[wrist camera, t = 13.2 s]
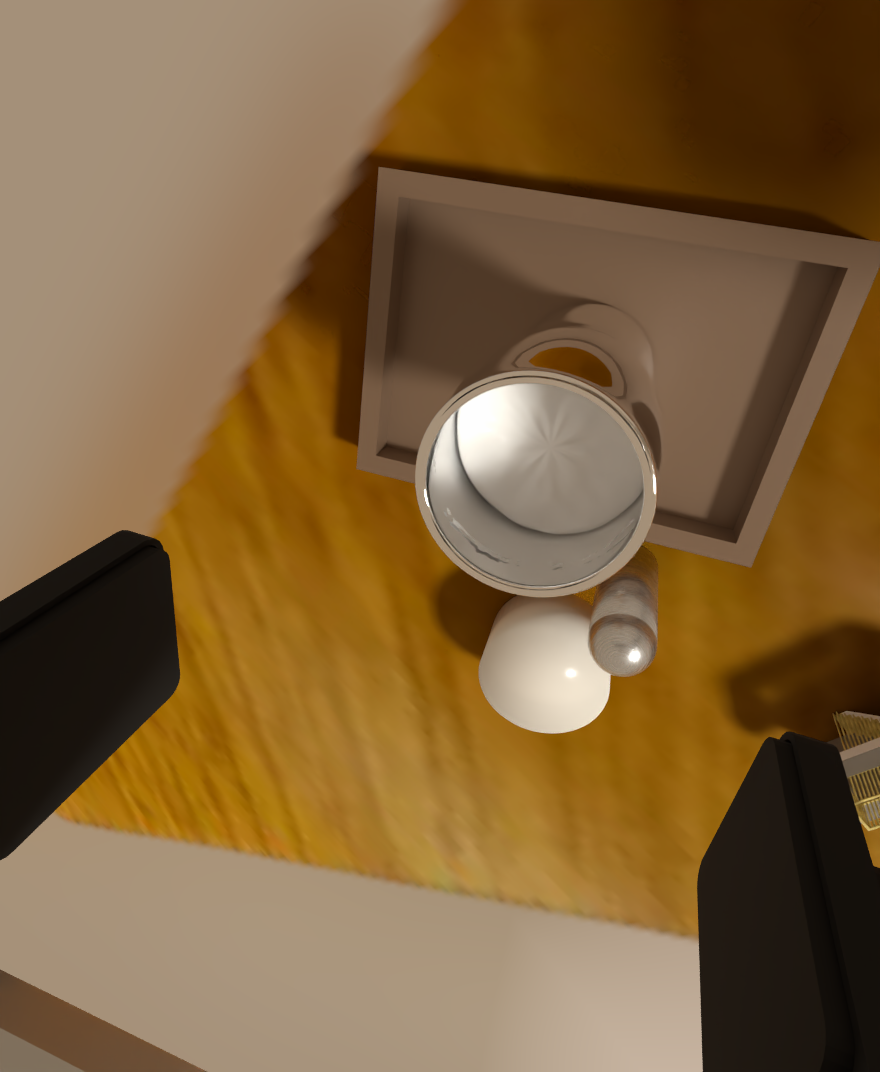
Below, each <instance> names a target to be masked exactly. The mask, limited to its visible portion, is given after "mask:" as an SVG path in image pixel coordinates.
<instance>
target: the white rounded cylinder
mask: <svg viewBox="0 0 880 1072" xmlns="http://www.w3.org/2000/svg"><path fill="white" fill-rule="evenodd" d="M592 609H593V606H591V605H590V604H589V603H588V602H586V601H585V600H583V599H582V598H580V597H578V596H576V595H574V594H569V595H564V596H557V597H529V596H522V595H517V596H515V597H513V598H512V599H510V600H509V601H508V602H506V603H505V604H504V605H503V606H502V608H501V609H500V610H499V612H498V614H497V616H496V617H495V620H494V623H493V626H492V629H491V632H490V635H489V638H488V641H487V644H486V646H485V649H484V652H483V655H482V658H481V661H480V666H479V680H480V685H481V688H482V691H483V693H484V695H485V697H486V699H487V700H488V702H489V703H490V704H491V706H492V707H493V708H494V709H495V710H496V711H497V712H498V713H499V714H500V715H502V716H503V717H504V718H505V719H507V720H509V721H510V722H512V723H514V724H516V725H518V726H520V727H522V728H525V729H528V730H532V731H535V732H542V733H563V732H569V731H573V730H576V729H579V728H581V727H583V726H585V725H587V724H589V723H590V722H591V721H593V720H594V719H595V718H596V717H597V716H598V715H599V714H600V713H601V711H602V710H603V709H604V707H605V705H606V703H607V700H608V697H609V690H610V674H609V673H607V672H605V671H603V670H602V669H601V668H599V667H598V666H597V665H596V663H595V662H594V661H593V659H592V657H591V655H590V653H589V650H588V644H587V640H588V632H589V626H590V620H591V615H592Z"/></svg>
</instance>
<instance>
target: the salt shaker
mask: <svg viewBox="0 0 880 1072" xmlns="http://www.w3.org/2000/svg"><path fill="white" fill-rule="evenodd" d="M657 618H658V564H657V561H656V558H655V557H654V555H653V554H652V553H651V552H650V551H649V550H648V549H646V548H645V547H643V546H641V547H640V548H639V550H638V551H637V553H636V554H635V555H634V556H633V558H632V559H631V560H630V561H629V562H628V563H627V564H626V565H625V566H624V567H623V568H622V569H621V570H619V571H618V572H617V573H616V574H614V575H613V576H611V577H610V578H609V579H607V580H605V581H604V582H602V583H600V584H598V585H597V586H596V592H595V597H594V603H593V609H592V615H591V620H590V626H589V632H588V640H587V644H588V650H589V653H590V655H591V657H592V659H593V661H594V662H595V663H596V665H597V666H598V667H599V668H601V669H602V670H603V671H605V672H607V673H609V674H611V675H614V676H619V677H628V676H633V675H636V674H638V673H640V672H642V671H644V670H645V669H646V668H647V667H648V666H649V665H650V664H651V662H652V661H653V659H654V657H655V654H656V651H657Z"/></svg>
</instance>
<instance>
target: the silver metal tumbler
mask: <svg viewBox="0 0 880 1072" xmlns="http://www.w3.org/2000/svg"><path fill="white" fill-rule="evenodd" d="M653 378H654V357H653V352H652V348H651V345H650V343H649V340H648V338H647V336H646V334H645V333H644V331H643V330H642V328H641V327H640V326H639V325H638V324H637V323H636V322H635V321H634V320H633V319H632V318H631V317H630V316H628V315H627V314H625V313H624V312H622V311H620V310H618V309H616V308H614V307H611V306H608V305H604V304H598V303H581V304H575V305H571V306H568V307H565V308H563V309H560V310H558V311H556V312H555V313H553V314H551V315H550V316H549V317H547V318H546V319H545V320H544V321H542V322H541V323H540V324H539V325H538V327H537V328H536V329H535V330H534V331H533V332H530V333H527V334H524V335H521V336H519V337H517V338H515V339H513V340H511V341H509V342H507V343H506V344H504V345H503V346H501V347H500V348H498V349H497V350H495V351H494V352H492V353H491V354H490V355H488V356H487V357H486V358H485V359H483V360H482V361H481V362H480V363H479V364H478V365H477V366H476V367H475V368H474V369H473V370H472V371H471V372H470V373H469V374H468V375H467V376H466V377H465V379H464V380H463V381H462V382H461V383H460V385H459V386H458V387H457V389H456V390H455V391H454V393H453V394H452V395H451V397H450V398H449V399H448V401H447V402H446V403H445V405H444V406H443V407H442V408H441V409H440V410H439V411H438V412H437V414H436V415H435V416H434V418H433V419H432V421H431V422H430V424H429V426H428V428H427V429H426V431H425V434H424V436H423V438H422V441H421V443H420V447H419V450H418V454H417V459H416V466H415V489H416V496H417V501H418V505H419V509H420V512H421V515H422V517H423V520H424V522H425V524H426V526H427V528H428V530H429V532H430V534H431V536H432V537H433V539H434V540H435V542H436V543H437V544H438V546H439V547H440V548H441V550H442V551H443V552H444V553H445V554H446V555H447V556H448V557H449V558H450V559H451V560H452V561H453V562H454V563H455V564H456V565H457V566H458V567H459V568H461V569H462V570H463V571H465V572H466V573H467V574H469V575H470V576H472V577H473V578H475V579H477V580H479V581H481V582H482V583H484V584H486V585H489V586H491V587H493V588H496V589H498V590H501V591H505V592H508V593H512V594H516V595H522V596H529V597H557V596H564V595H569V594H574V593H577V592H581V591H584V590H586V589H589V588H591V587H594V586H596V585H598V584H600V583H602V582H604V581H605V580H607V579H609V578H610V577H611V576H613V575H614V574H616V573H617V572H618V571H619V570H621V569H622V568H623V567H624V566H625V565H626V564H627V563H628V562H629V561H630V560H631V559H632V558H633V556H634V555H635V554H636V553H637V551H638V550H639V548H640V547H641V545H642V544H643V542H644V540H645V538H646V537H647V534H648V532H649V530H650V528H651V525H652V522H653V519H654V515H655V511H656V505H657V495H658V492H659V488H660V483H661V479H662V474H663V469H664V460H665V449H666V431H665V422H664V414H663V409H662V404H661V400H660V397H659V394H658V392H657V389H656V387H655V385H654V383H653Z"/></svg>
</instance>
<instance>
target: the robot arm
mask: <svg viewBox="0 0 880 1072" xmlns="http://www.w3.org/2000/svg"><path fill="white" fill-rule="evenodd" d="M179 679H180V669H179V658H178V647H177V636H176V625H175V614H174V603H173V592H172V581H171V570H170V560H169V555H168V554H167V552H165V551H164V550H163V546H162V544H161V543H160V541H158V540H157V539H154V538H151V537H148V536H144V535H141V534H138V533H135V532H131V531H128V530H122V531H119V532H117V533H115V534H113V535H112V536H110V537H108V538H106V539H105V540H103V541H102V542H100V543H98V544H96V545H95V546H93V547H91V548H90V549H88V550H86V551H85V552H83V553H81V554H80V555H78V556H76V557H75V558H73V559H71V560H69V561H68V562H66V563H64V564H63V565H61V566H59V567H58V568H56V569H54V570H53V571H51V572H49V573H47V574H46V575H44V576H43V577H41V578H39V579H38V580H36V581H34V582H32V583H31V584H29V585H27V586H26V587H24V588H22V589H21V590H19V591H17V592H15V593H14V594H12V595H10V596H9V597H7V598H5V599H4V600H2V601H0V860H2V859H4V858H5V857H7V856H8V855H9V854H11V853H12V852H13V851H14V850H15V849H16V848H17V847H18V846H19V845H20V844H21V843H22V842H23V841H24V840H25V839H26V838H27V837H28V836H29V835H30V834H31V833H32V832H33V831H34V830H35V829H36V828H37V827H38V826H39V825H40V824H42V822H43V821H45V820H46V819H47V818H48V817H49V816H50V815H51V814H52V813H53V812H54V811H55V810H56V809H57V808H58V807H59V806H60V805H61V804H62V803H63V802H64V801H65V800H66V799H67V798H68V797H69V796H70V795H71V794H72V793H73V792H74V791H75V790H76V789H77V788H78V787H79V786H80V785H81V784H82V783H83V782H84V781H85V780H86V779H87V778H88V777H89V776H90V775H91V774H92V773H93V772H94V771H96V770H97V769H98V768H99V767H100V766H101V765H102V764H103V763H104V762H105V761H106V760H107V759H108V758H109V757H110V756H111V755H112V754H113V753H114V752H115V751H116V750H117V749H118V748H119V747H120V746H121V745H122V744H123V743H124V742H125V741H126V740H127V739H128V738H129V737H130V736H131V735H132V734H133V733H134V732H135V731H136V730H137V729H138V728H139V727H140V726H141V725H142V724H143V723H144V722H145V721H146V720H147V719H148V718H149V717H151V716H152V715H153V714H154V713H155V712H156V711H157V710H158V709H159V708H160V707H161V706H162V705H163V704H164V703H165V702H166V701H167V700H168V699H169V698H170V697H171V696H172V694H173V693H174V692H175V690H176V688H177V686H178V683H179ZM697 894H698V927H699V956H700V957H699V958H700V992H701V1023H702V1057H703V1072H880V868H877V867H875V866H873V864H872V860H871V857H870V854H869V850H868V847H867V844H866V840H865V837H864V833H863V830H862V827H861V823H860V820H859V816H858V813H857V810H856V806H855V803H854V800H853V796H852V793H851V789H850V786H849V783H848V779H847V776H846V773H845V769H844V766H843V762H842V759H841V756H840V753H839V751H838V749H837V747H836V746H834V745H833V744H829V743H826V742H823V741H820V740H816V739H813V738H810V737H806V736H803V735H800V734H797V733H793V732H786V733H784V734H783V735H782V737H781V738H780V740H779V739H775V738H772V737H768V738H767V739H766V740H765V741H764V743H763V745H762V746H761V748H760V750H759V752H758V754H757V756H756V758H755V760H754V762H753V764H752V766H751V767H750V769H749V771H748V773H747V775H746V777H745V779H744V781H743V783H742V785H741V787H740V788H739V790H738V792H737V794H736V796H735V798H734V800H733V802H732V804H731V806H730V808H729V809H728V811H727V813H726V815H725V817H724V819H723V821H722V823H721V825H720V827H719V829H718V830H717V832H716V834H715V836H714V838H713V840H712V842H711V844H710V846H709V848H708V850H707V851H706V853H705V855H704V857H703V859H702V862H701V865H700V869H699V874H698V882H697ZM0 1072H206V1071H204V1070H202V1069H200V1068H198V1067H196V1066H194V1065H192V1064H190V1063H188V1062H186V1061H184V1060H182V1059H180V1058H178V1057H176V1056H174V1055H172V1054H170V1053H168V1052H166V1051H164V1050H162V1049H160V1048H158V1047H156V1046H154V1045H152V1044H150V1043H148V1042H146V1041H144V1040H142V1039H140V1038H137V1037H136V1036H134V1035H132V1034H130V1033H128V1032H126V1031H124V1030H122V1029H120V1028H118V1027H116V1026H113V1025H111V1024H110V1023H107V1022H105V1021H103V1020H101V1019H99V1018H97V1017H95V1016H93V1015H91V1014H89V1013H87V1012H85V1011H83V1010H81V1009H79V1008H77V1007H75V1006H73V1005H71V1004H69V1003H67V1002H65V1001H63V1000H61V999H59V998H57V997H55V996H53V995H51V994H49V993H47V992H45V991H43V990H40V989H38V988H37V987H35V986H32V985H30V984H28V983H26V982H24V981H22V980H20V979H18V978H16V977H14V976H12V975H10V974H8V973H6V972H4V971H2V970H0Z"/></svg>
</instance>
